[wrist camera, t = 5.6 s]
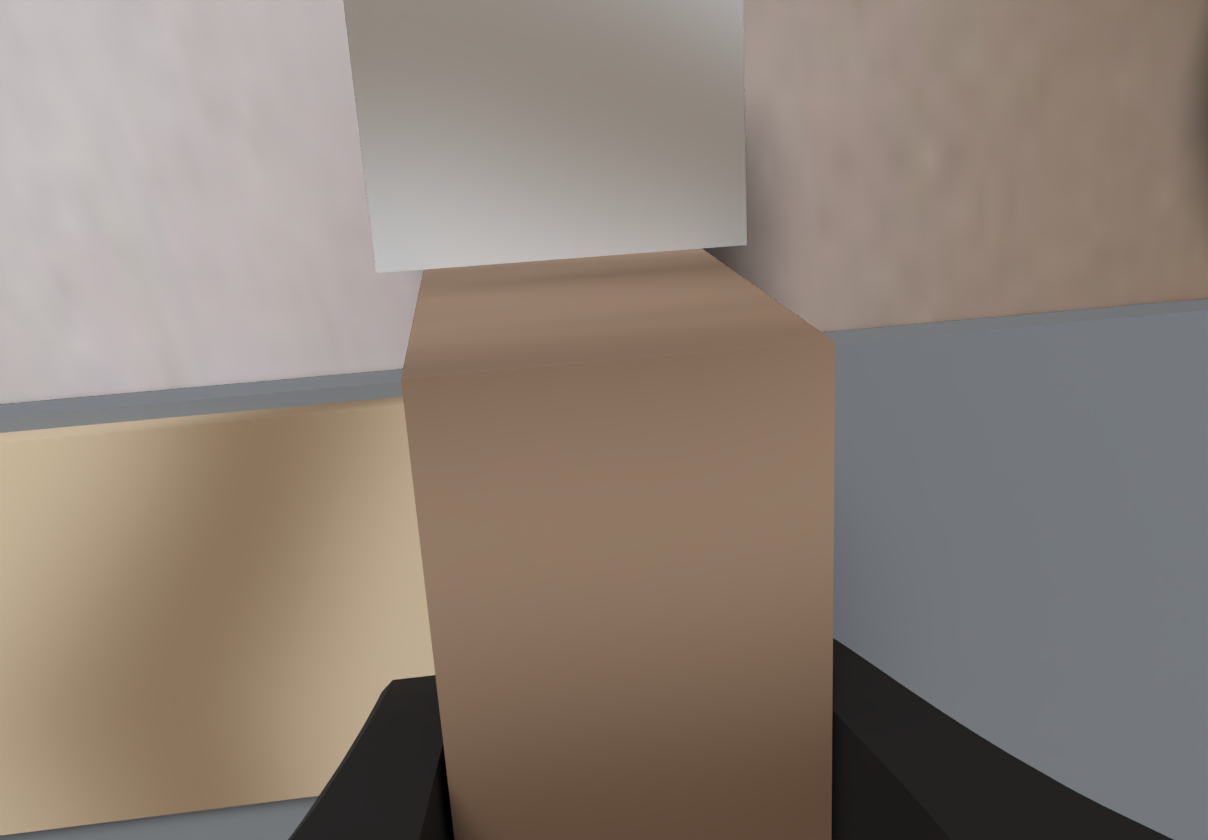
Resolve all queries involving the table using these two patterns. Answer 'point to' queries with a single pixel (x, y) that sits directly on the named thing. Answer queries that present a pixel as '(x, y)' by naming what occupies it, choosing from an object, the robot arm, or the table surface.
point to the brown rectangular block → (602, 422)
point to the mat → (953, 541)
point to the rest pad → (200, 607)
